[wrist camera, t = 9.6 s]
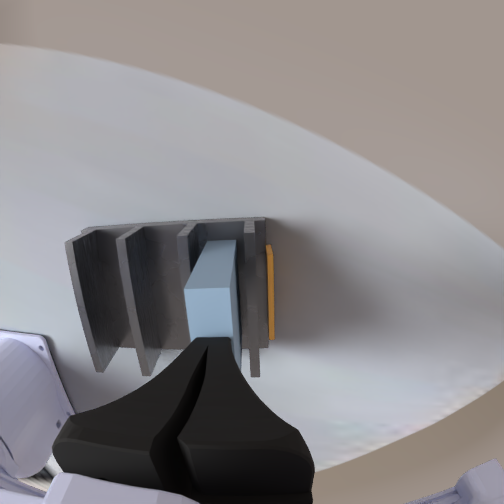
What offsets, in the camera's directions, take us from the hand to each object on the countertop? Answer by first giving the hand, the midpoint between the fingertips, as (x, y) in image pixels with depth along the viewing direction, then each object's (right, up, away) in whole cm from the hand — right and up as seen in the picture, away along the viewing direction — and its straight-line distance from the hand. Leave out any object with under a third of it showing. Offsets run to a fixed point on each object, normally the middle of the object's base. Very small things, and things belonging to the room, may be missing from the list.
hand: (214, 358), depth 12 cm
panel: (0, +2, +7) cm, 7 cm away
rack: (-3, +2, +8) cm, 9 cm away
